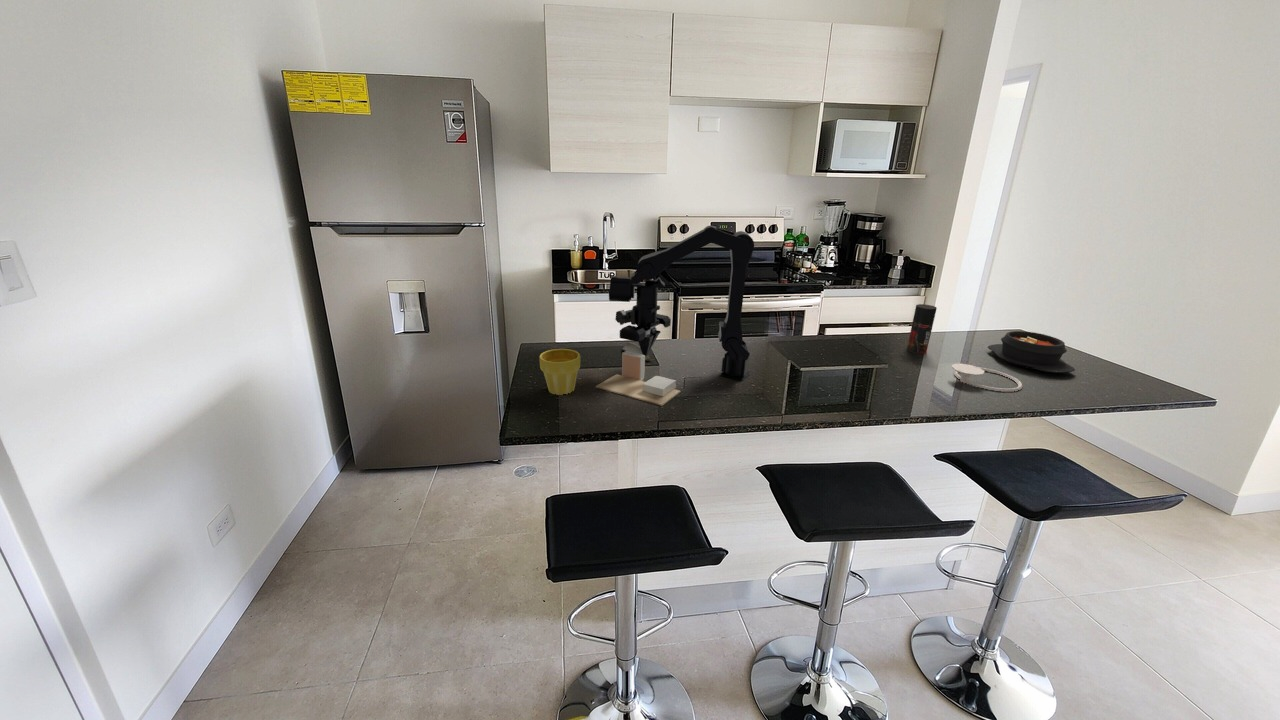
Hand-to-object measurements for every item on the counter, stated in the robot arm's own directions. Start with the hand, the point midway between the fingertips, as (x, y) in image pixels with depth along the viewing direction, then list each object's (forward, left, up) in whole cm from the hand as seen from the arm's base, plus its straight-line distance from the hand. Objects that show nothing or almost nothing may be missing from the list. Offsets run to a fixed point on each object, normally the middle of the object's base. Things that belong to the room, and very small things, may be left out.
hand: (645, 355), depth 152 cm
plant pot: (+11, +24, -5) cm, 27 cm away
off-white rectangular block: (0, +6, -5) cm, 8 cm away
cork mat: (-5, +13, -4) cm, 15 cm away
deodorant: (-65, -67, -5) cm, 93 cm away
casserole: (-96, -75, -5) cm, 122 cm away
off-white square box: (-10, +7, -3) cm, 13 cm away
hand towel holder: (-84, -49, -5) cm, 97 cm away
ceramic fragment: (+9, -9, -5) cm, 14 cm away
